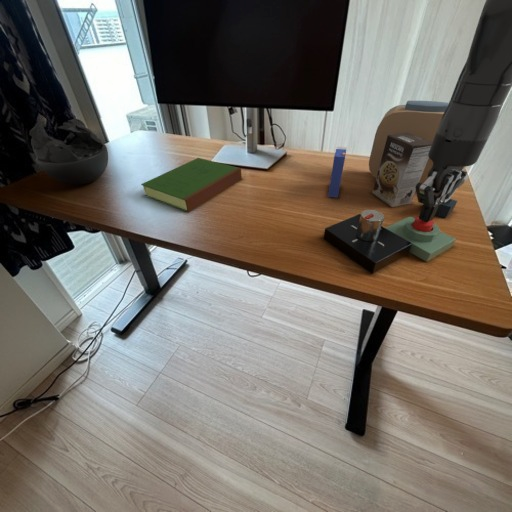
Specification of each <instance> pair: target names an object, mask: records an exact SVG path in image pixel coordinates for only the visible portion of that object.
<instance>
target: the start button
mask: <svg viewBox="0 0 512 512" xmlns="http://www.w3.org/2000/svg"><path fill="white" fill-rule="evenodd" d="M434 223H435V221H434V219H433V220H431V221H429V222H424V221H422V220H420V219H419V216H417V217H415V221H414V223H413V228H414V229H416V230H418V231H422V232H430V231H431V229H432V227H433V225H434Z"/></svg>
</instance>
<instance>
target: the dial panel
mask: <svg viewBox="0 0 512 512" xmlns="http://www.w3.org/2000/svg"><path fill="white" fill-rule="evenodd" d="M360 216H361V213H359V214H356V215H353V216H352V217H349V218H347V219H343V220H342V221H339V222H336V223H335V224H332V225H329V226H327V227H325V228H324V233H323V238H322V239H323V240H324V241H325V242H327V243H328V244H329V245H331V246H332V247H334V248H335V249H336V250H338V251H339V252H341V253H342V254H343V255H345V256H346V257H347V258H349V260H352V261H353V262H354V263H356V264H357V265H358V266H359V267H361V268H363V269H364V270H366V271H367V272H368V273H369V274H371V275H373V274H375V273H377V272H379V271H381V270H383V269H385V268H387V267H388V266H389V265H391V264H393V263H395V262H397V261H399V260H401V259H403V258H404V257H406V256H408V254H409V253H410V252H409V250H410V248H411V246H412V243H411V242H409V241H407V240H405V239H404V238H402V237H400V236H398V235H397V234H395V233H393V232H391V231H389V230H388V229H386V227H384V226H383V225H382V226H381V229H380V232H379V235H378V238H377V239H376V240H375V241H364V240H361V239H360V238H358V237H357V235H356V232H357V228H358V224H359V220H360Z"/></svg>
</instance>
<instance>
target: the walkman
mask: <svg viewBox="0 0 512 512" xmlns="http://www.w3.org/2000/svg"><path fill="white" fill-rule="evenodd" d="M347 149H348V147H346V146H345V147H344V146H336V148H335V152H334V157H333V162H332V168H331V175H330V181H329V187H328V193H327V197H328V198H334V199H335V198H336V199H338V198H339V193H340V188H341V183H342V177H343V172H344V166H345V161H346V155H347Z"/></svg>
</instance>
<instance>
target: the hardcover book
mask: <svg viewBox="0 0 512 512" xmlns="http://www.w3.org/2000/svg"><path fill="white" fill-rule="evenodd" d="M242 176H243V175H242V168H241V167H237V166H234V165H229V164H225V163H221V162H216V161H213V160H209V159H204V158H200V157H196V158H195V159H193V160H189V161H188V162H186V163H184V164H182V165H180V166H177V167H174V168H173V169H170V170H169V171H167V172H164V173H162V174H160V175H158V176H156V177H153V178H152V179H150V180H147V181H145V182H143V183H141V184H140V186H142V187H143V190H144V196H145V197H147V198H149V199H151V200H155V201H158V202H160V203H163V204H165V205H168V206H171V207H174V208H176V209H179V210H182V211H184V212H187V213H190V212H192V211H194V210H195V209H197V208H198V207H200V206H202V205H203V204H205V203H207V202H208V201H209V200H211V199H213V198H214V197H216V196H217V195H219V194H221V193H223V192H224V191H225V190H227V189H229V188H230V187H232V186H234V185H235V184H237V183H238V182H240V181H242V180H243V178H242Z"/></svg>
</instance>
